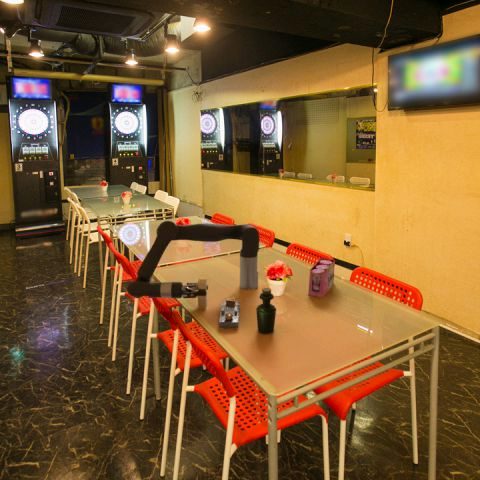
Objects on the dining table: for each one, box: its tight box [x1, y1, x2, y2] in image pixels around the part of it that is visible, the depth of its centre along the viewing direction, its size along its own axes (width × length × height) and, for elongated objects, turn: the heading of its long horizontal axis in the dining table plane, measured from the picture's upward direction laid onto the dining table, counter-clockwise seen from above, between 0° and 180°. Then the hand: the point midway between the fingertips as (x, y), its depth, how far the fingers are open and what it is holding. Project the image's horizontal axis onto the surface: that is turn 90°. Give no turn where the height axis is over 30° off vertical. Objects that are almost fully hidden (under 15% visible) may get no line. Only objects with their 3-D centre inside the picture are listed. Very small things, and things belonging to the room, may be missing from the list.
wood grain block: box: [197, 278, 208, 310], centre depth 193 cm, size 5×4×13 cm
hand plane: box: [218, 297, 240, 329], centre depth 184 cm, size 22×8×5 cm, turn 179°
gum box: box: [307, 258, 336, 298], centre depth 216 cm, size 24×8×14 cm, turn 154°
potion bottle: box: [255, 287, 277, 335], centre depth 170 cm, size 8×8×18 cm
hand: (207, 290), depth 193 cm, fingers open, 7 cm apart
